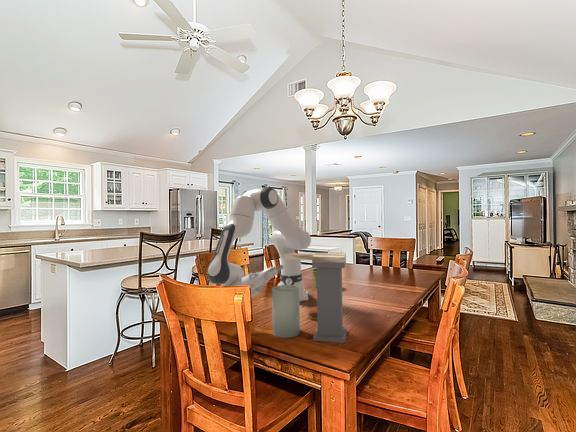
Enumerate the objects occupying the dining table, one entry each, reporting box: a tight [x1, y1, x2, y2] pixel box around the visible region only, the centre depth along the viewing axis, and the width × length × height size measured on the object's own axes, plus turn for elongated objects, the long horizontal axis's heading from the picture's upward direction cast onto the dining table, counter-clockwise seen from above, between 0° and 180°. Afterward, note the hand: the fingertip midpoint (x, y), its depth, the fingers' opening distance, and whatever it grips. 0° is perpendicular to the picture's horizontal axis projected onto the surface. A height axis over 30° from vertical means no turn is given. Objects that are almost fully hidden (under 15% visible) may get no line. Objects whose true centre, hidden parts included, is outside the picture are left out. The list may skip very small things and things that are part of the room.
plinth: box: [311, 258, 348, 344], centre depth 123 cm, size 12×12×30 cm
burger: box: [307, 306, 317, 322], centre depth 145 cm, size 10×9×5 cm
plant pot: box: [311, 267, 317, 289], centre depth 200 cm, size 12×12×11 cm
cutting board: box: [284, 252, 347, 263], centre depth 124 cm, size 12×24×2 cm, turn 77°
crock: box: [271, 285, 301, 339], centre depth 128 cm, size 11×11×18 cm
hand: (279, 268), depth 128 cm, fingers open, 8 cm apart
